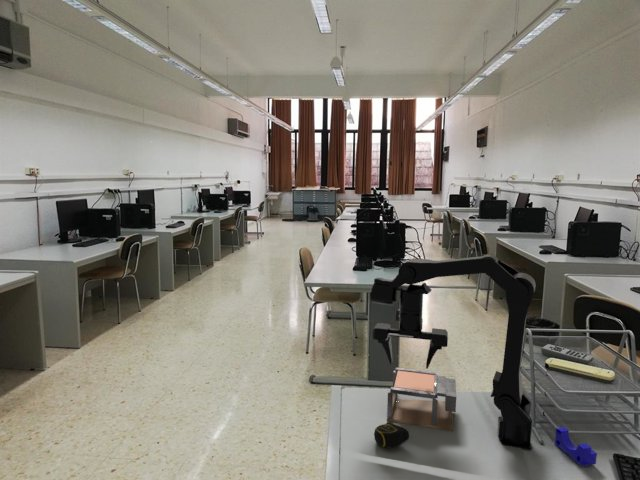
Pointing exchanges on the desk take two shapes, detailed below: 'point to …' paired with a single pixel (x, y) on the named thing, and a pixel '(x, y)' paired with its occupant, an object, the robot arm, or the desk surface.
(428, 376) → the trapdoor
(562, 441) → the cable holder
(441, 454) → the desk surface
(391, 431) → the tape measure
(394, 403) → the framed copper bin
